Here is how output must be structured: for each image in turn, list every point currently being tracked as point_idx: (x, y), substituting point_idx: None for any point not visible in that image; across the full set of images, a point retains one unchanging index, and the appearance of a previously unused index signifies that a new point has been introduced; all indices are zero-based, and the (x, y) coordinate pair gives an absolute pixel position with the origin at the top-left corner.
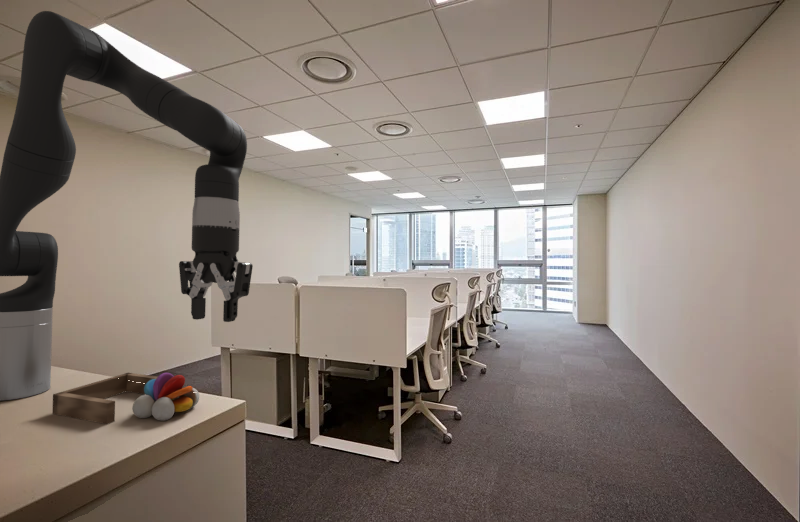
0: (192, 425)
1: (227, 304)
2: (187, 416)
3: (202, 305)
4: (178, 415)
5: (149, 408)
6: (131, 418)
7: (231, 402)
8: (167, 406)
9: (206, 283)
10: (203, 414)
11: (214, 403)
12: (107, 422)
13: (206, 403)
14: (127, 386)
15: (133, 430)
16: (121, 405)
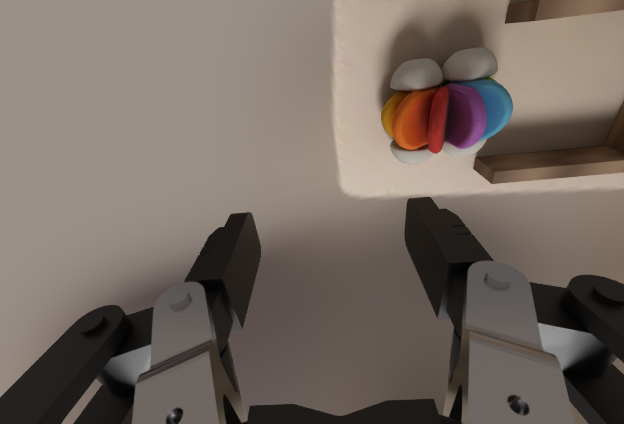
0: (334, 83)
1: (208, 268)
2: (376, 109)
3: (424, 269)
4: None
5: (446, 65)
6: None
7: (349, 187)
8: (400, 75)
9: (452, 415)
10: (354, 128)
11: (375, 172)
12: (511, 5)
13: (389, 166)
14: (610, 149)
15: (426, 10)
16: (556, 89)
